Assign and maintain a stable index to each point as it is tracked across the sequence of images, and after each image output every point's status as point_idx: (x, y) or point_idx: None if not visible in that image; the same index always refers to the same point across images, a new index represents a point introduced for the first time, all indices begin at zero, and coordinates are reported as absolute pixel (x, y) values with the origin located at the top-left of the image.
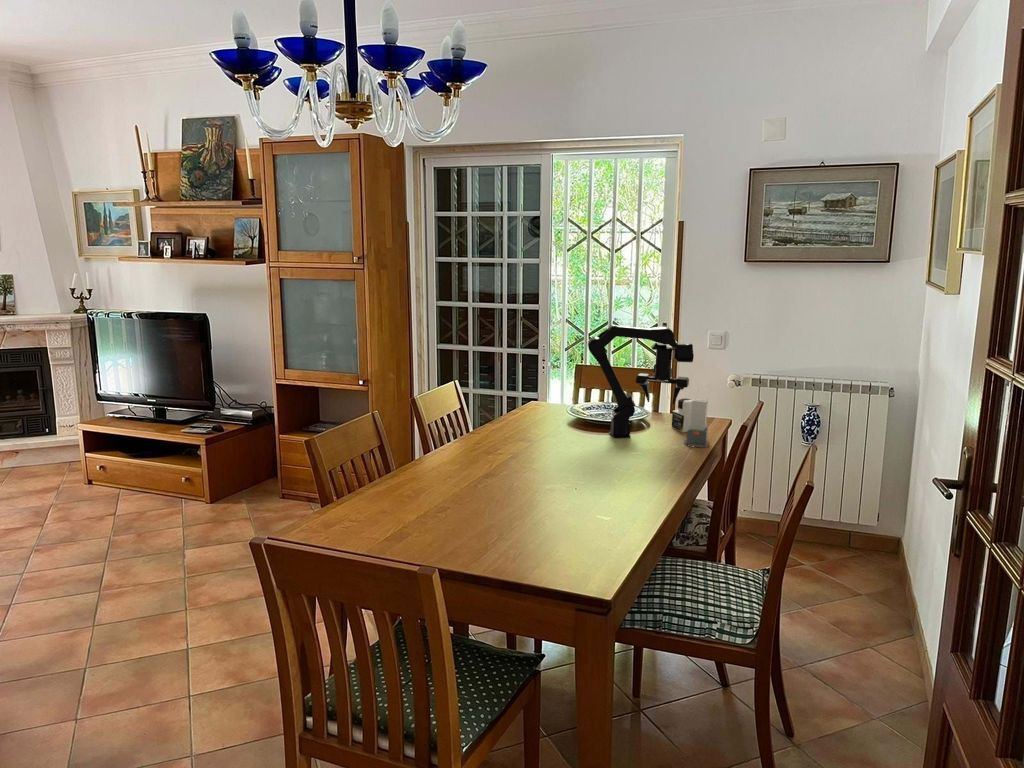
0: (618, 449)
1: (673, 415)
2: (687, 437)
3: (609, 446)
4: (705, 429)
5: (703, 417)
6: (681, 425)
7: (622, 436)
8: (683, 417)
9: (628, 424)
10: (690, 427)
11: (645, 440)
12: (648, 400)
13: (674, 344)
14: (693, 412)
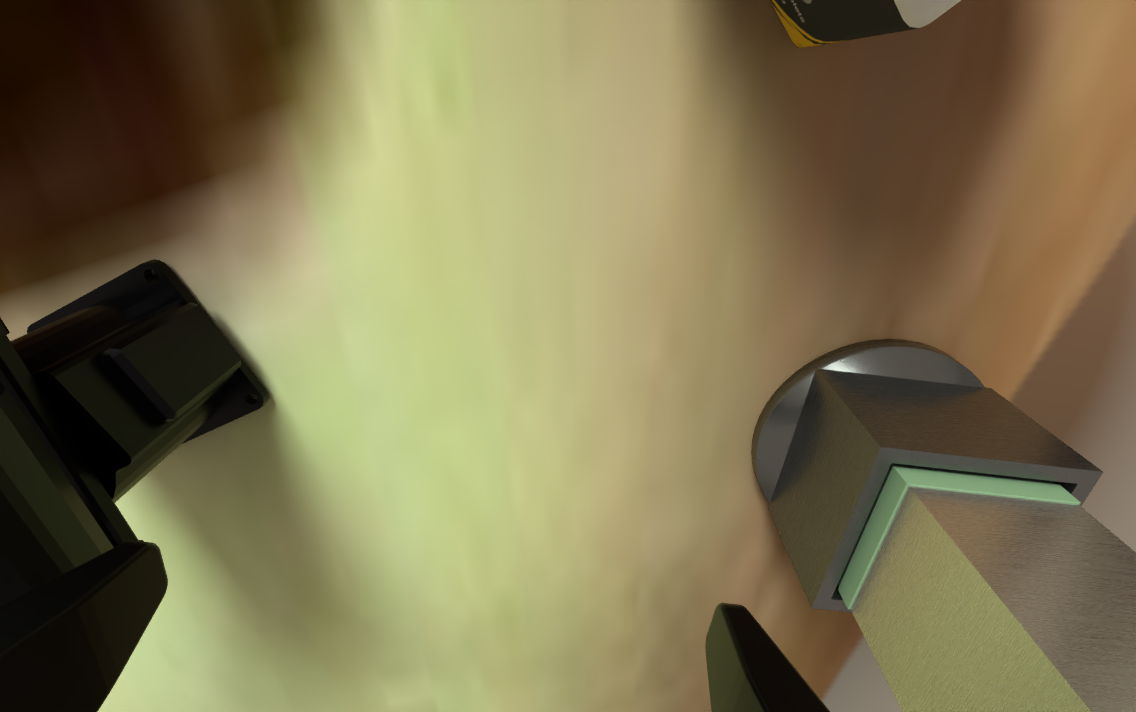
0: (286, 661)
1: None
2: (790, 549)
3: (209, 625)
4: (1045, 483)
5: None
6: (813, 16)
7: (204, 433)
8: (893, 32)
9: (160, 436)
10: (857, 615)
11: (418, 443)
12: (137, 635)
13: None
14: None
